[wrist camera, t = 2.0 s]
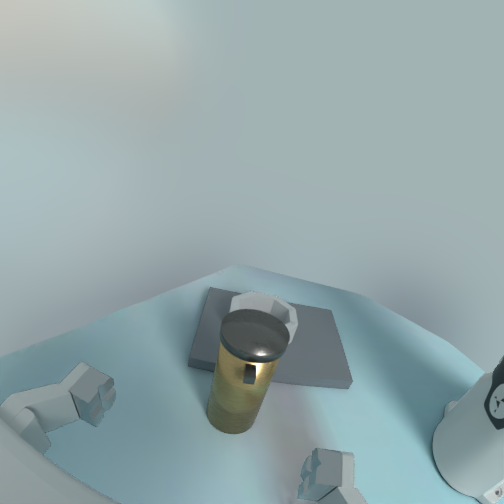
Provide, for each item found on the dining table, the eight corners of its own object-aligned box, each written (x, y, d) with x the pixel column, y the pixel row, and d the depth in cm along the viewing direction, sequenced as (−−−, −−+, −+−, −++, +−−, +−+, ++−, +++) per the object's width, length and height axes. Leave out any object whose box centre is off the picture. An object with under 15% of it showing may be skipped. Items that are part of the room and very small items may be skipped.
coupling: (209, 383, 31) (226, 296, 26) (257, 391, 31) (286, 308, 26) (199, 439, 24) (214, 356, 19) (255, 447, 24) (293, 369, 19)
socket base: (328, 317, 48) (337, 295, 46) (348, 388, 33) (362, 364, 31) (208, 294, 47) (213, 270, 45) (188, 365, 32) (191, 338, 30)
